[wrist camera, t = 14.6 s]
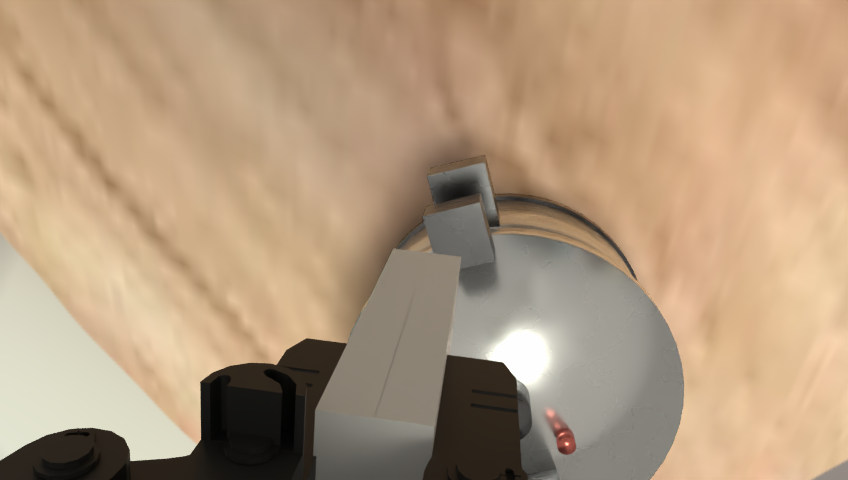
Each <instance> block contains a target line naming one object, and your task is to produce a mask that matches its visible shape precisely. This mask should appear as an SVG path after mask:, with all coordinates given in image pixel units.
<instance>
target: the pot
mask: <svg viewBox="0 0 848 480" xmlns="http://www.w3.org/2000/svg"><path fill="white" fill-rule="evenodd" d="M427 178H428V182H429V186H430V190H431V194H432V197H433V201H434V204H438V203H442V202H446V201H450V200H454V199H458V198H462V197H466V196H470V195H474V194H478V193H481V197H482V201H483V205H484V208H485V212H486V216H487V220H488V224H489V227H490V228H511V227H512V228H525V229H536V230H541V231H545V232H550V233H555V234H559V235H562V236H565V237H568V238H571V239H574V240H577V241H579V242H582V243H584V244H586V245H588V246H590V247H592V248H594V249H596V250H598V251H600V252H601V253H603V254H604V255H606V256H607V257H609V258H610V259H612V260H613V261H615V262H616V263H618V264H619V265H620V266H621V267H623V268H624V269H625V270H626V271H627V272H628V273H629V274H630V275H632V276H633V277H634V278H635V279H636V276H635V274H634V272H633V269H632V268H631V266H630V264H629V263H628V261H627V259H626V258H625V256H624V254H623V253H622V251H621V250H620V249H619V247H618V246H617V245H616V244H615V242H614V241H613V240H612V239H611V238H610V237H609V236H608V235H607V234H606V233H605V232H604V231H603V230H602V229H601V228H600V227H599V226H598V225H596V224H595V223H594V222H592V221H591V220H589V219H588V218H586V217H585V216H583V215H582V214H580V213H578V212H576V211H574V210H572V209H571V208H569V207H567V206H564V205H562V204H559V203H556V202H553V201H551V200H548V199H543V198H539V197H534V196H530V195H519V194H494V189H493V185H492V181H491V177H490V172H489V168H488V164H487V160H486V156H485V155H482V156H478V157H474V158H470V159H466V160H462V161H458V162H453V163H449V164H445V165H441V166H437V167H433V168H431V169H430V171H429V173H428V175H427ZM430 245H431V244H430V240H429V237H428V234H427V230H426V227H425V223H424V220H423V221H422V222H421V223H420V224H419V225H417V226H416V227H415V228H414V229H412V230H411V231H410V232H409V233H408V234H407V236H406V237H405V238H404V239H403V240H402V241H401V242H400V243H399V245H398V246H397V247H396V249H401V250H409V251H417V252H419V251H421V250H422V249H424V248H426V247H428V246H430ZM636 280H637V279H636Z"/></svg>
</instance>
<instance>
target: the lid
mask: <svg viewBox="0 0 848 480" xmlns="http://www.w3.org/2000/svg"><path fill="white" fill-rule="evenodd" d="M423 220H424V223H425V227H426V230H427V234H428V237H429V240H430V244H431V245H430V246H428V247H426V248H424V249H422V250H421V251H419V252H426V253H434V254H442V255H451V256H459V257H461V262H460V271H459V280H458V289H457V297H456V306H455V315H454V324H453V332H452V341H451V350H450V355H453V356H461V357H468V358H476V359H484V360H491V361H499V362H504V363H505V365H506V366H507V367H508V368H509V370H510V371H511V372H512V373H513V375H514V376H515V377H516V381H517V399H518V414H519V430H520V447H521V463H522V469H523V470H524V471H525V472H526V474H527V476H528V479H529V480H650V479H651V478H652V476H653V475H654V474H655V472H656V471H657V469H658V468H659V467H660V465H661V464H662V463H663V461H664V459H665V457H666V455H667V454H668V452H669V450H670V448H671V446H672V444H673V442H674V439H675V436H676V433H677V430H678V427H679V424H680V419H681V414H682V409H683V399H684V380H683V371H682V363H681V360H680V356H679V352H678V349H677V345H676V342H675V340H674V338H673V336H672V333H671V331H670V329H669V327H668V324H667V323H666V321H665V319H664V318H663V316H662V314H661V313H660V311H659V310H658V308H657V306H656V305H655V303H654V302H653V300H652V298H651V297H650V295H649V294H648V293H647V292H646V291H645V289H644V288H643V287H642V286H641V285H640V284H639V282H638V281H637V280H636V279H635V278H634V277H633V276H632V275H630V274H629V273H628V272H627V271H626V270H625V269H624V268H623V267H621V266H620V265H619V264H618V263H616V262H615V261H613V260H612V259H610V258H609V257H607V256H606V255H604V254H603V253H601V252H600V251H598V250H596V249H594V248H592V247H590V246H588V245H586V244H584V243H582V242H579V241H577V240H574V239H571V238H568V237H565V236H562V235H559V234H555V233H550V232H545V231H541V230H536V229H525V228H512V227H511V228H490V227H489V224H488V220H487V216H486V212H485V208H484V205H483V201H482V197H481V193H478V194H474V195H470V196H466V197H462V198H458V199H454V200H450V201H446V202H442V203H438V204H434V205H430V206H427V207H426V209H425V212H424V214H423ZM368 300H369V299H368ZM368 300H367V302H368ZM367 302H366V303H365V305H364V307H363V309H362V311H361V313H360V315H359V317H358V319H357V321H356V323H355V325H354V327H353V329H352V331H351V334H350V337H351V335H352V333H353V331H354V329H355V327H356V325H357V323H358V321H359V318H360V316H361V314H362V312H363V310H364V308H365V306H366V304H367ZM350 337H349V339H350ZM348 341H349V340H348Z"/></svg>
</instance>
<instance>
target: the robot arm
mask: <svg viewBox="0 0 848 480" xmlns="http://www.w3.org/2000/svg"><path fill="white" fill-rule="evenodd" d="M460 262H461V257H459V256H451V255H442V254H434V253H426V252H417V251H409V250H401V249H393V250H392V252H391V254H390V257H389V259H388V261H387V263H386V265H385V267H384V269H383V271H382V273H381V275H380V277H379V279H378V281H377V283H376V285H375V288H374V290H373V292H372V294H371V296H370V298H369V300H368V302H367V304H366V306H365V308H364V310H363V312H362V314H361V316H360V318H359V321H358V323H357V325H356V327H355V329H354V331H353V333H352V335H351V337H350V339H349V341H348V343H347V344H346V343H338V342H330V341H323V340H315V339H305V340H303V341H301V342H300V343H298V344H296V345H294V346H293V347H291V348H289V349H288V350H286V352H285V353H284V355H283V356H282V358H281V359H280V361H279V362H278V364H277V365H274V364H266V363H247V364H240V365H233V366H229V367H226V368H224V369H221V370H218V371H216V372H213V373H212V374H210V375H209V376H208V377H206V378H205V379H204V380H202V381H201V382H200V384H201V440H200V442H199V443H198V445H197V446H196V447H195V449H194V450H193V452H192V453H191V454H190V455H188V456H183V457H176V458H169V459H156V460H143V461H130V450H129V448H128V446H127V443H126V441H125V440H124V438H122V437H120V436H118V435H117V434H115V433H113V432H112V431H107V430H101V429H95V428H82V429H79V428H78V429H69V430H65V431H62V432H57V433H53V434H50V435H46V436H44V437H42V438H40V439H38V440H36V441H33V442H31V443H29V444H27V445H25V446H23V447H22V448H20V449H19V450H17V451H15V452H14V453H12V454H10V455H9V456H7V457H6V458H4V459H2V460H1V461H0V480H529V479H528V476H527V474H526V472H525V471H524V470H523V469H522V463H521V447H520V430H519V414H518V399H517V381H516V377H515V376H514V375H513V373H512V372H511V371H510V370H509V368H508V367H507V366H506V365H505V363H504V362H499V361H491V360H484V359H476V358H468V357H461V356H453V355H450V350H451V341H452V332H453V324H454V315H455V306H456V297H457V289H458V280H459V271H460Z"/></svg>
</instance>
